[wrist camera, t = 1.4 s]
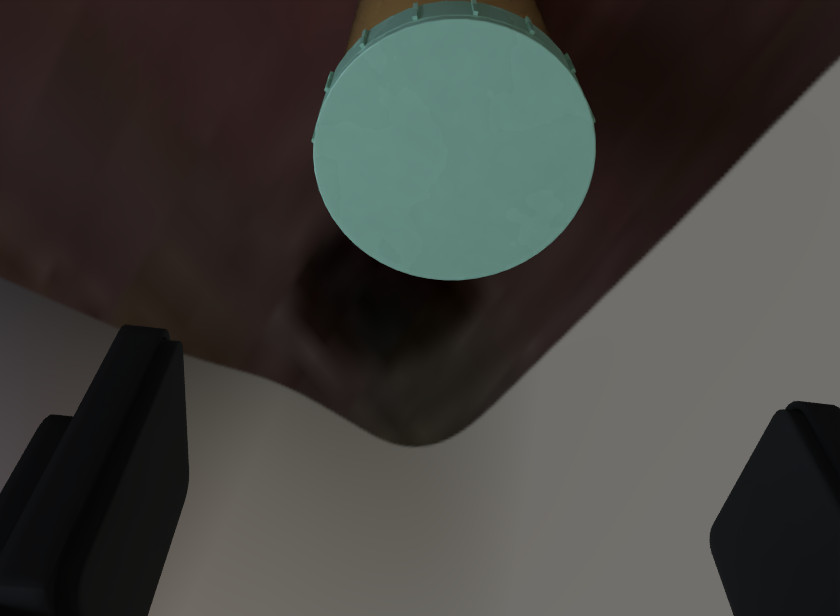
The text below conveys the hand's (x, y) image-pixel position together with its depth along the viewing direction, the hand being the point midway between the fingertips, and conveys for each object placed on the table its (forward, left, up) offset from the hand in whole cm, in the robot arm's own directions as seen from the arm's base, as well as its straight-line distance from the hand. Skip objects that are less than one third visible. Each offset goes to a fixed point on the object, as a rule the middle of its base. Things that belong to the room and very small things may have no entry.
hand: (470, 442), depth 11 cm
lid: (0, 0, -10) cm, 10 cm away
